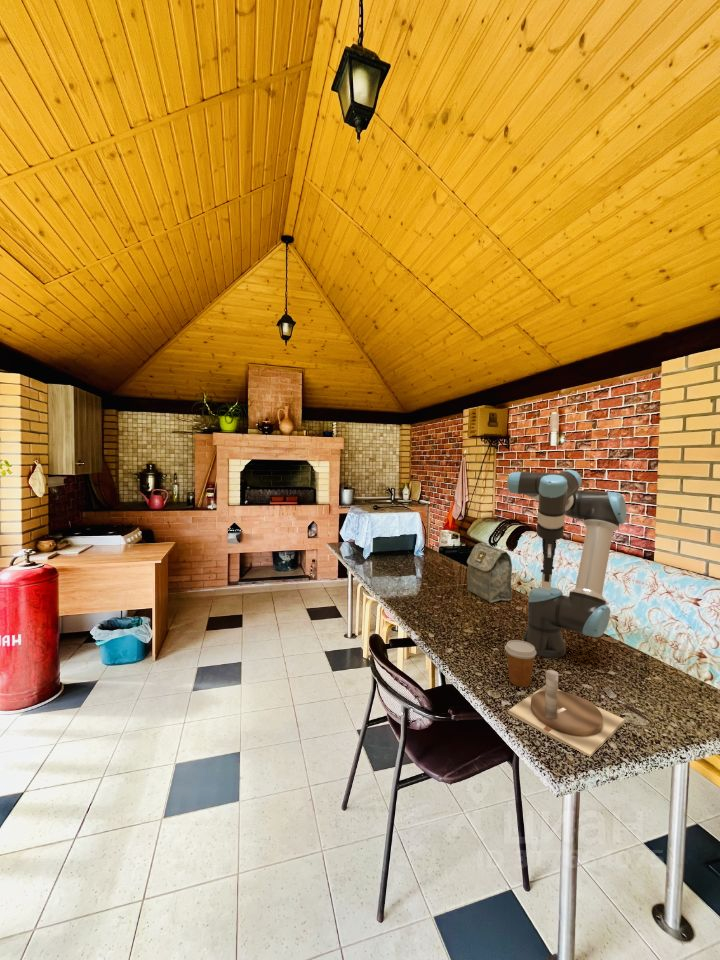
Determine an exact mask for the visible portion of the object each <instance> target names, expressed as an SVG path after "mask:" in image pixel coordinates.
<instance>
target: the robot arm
mask: <svg viewBox="0 0 720 960" xmlns="http://www.w3.org/2000/svg"><path fill="white" fill-rule="evenodd" d="M582 483H583V480H582V477H581V475H580V474H579V473H578V472H577V471H575V470H572V469H565V470H563V471H561V472H528V471H527V472H525V471H524V472H522V471H518V472H517V471H515V472H511V473H509V475H508V476H507V480H506V487H507V490H508V491H509V493H511V494H516V495H525V496H527V497H529V498H530V499H531V498H532V499H534V500H536V501H538V505H537V506H538V508H537V513H535V517H537V525H536V534H537V536H538V537H539V538H541V539H542V540H541V541H542V555H543V557H542V558H543V559H542V564H543V565H542V569H540V573H542V574H541V587H535V588H533V589H531V590H529V592H528V600H527V602H528V603H527V605H528V607H527V608H528V609H527V614H528V615H527V627H526V630H525V632H524V635H523V637H522V641H525V642H528V643H530V644H532V645H533V646H534V647H535V650H536V655H535V656H540V657H542V658H550V659H551V658H554V659H555V658H560V657H563V656H565V655H566V651H567V650H566V649H567V647H566V642H565V639H564V637H563V634H562V629H564V630H568V631H572V632H574V633H578V634H581V635H583V636H589V637H591V638H592V637H593V638H600V637H602V635H603V634H605V632H606V630H607V628H608V626H609V623H610V619H611V609H610V606H608V605H607V604H606V603H607V600H606V599H605V597H604V596H603V590H604V586H605V579H606V574H607V573H606V572H607V568H608V562H609V558H610V550H611V544H612V539H613V534H614V532H616V531H618V530H619V526H620V525H623V524H625V523H626V521H627V505H626V500H625V498H624V496H623V494H622V493H619V492H614V491H609V490H608V491H599V490H580V488H581V487H582ZM565 517H569V518H571V519H576V520H581V521H582V522H583V525H584V526H585V527H586V529H585V535H584V541H583V544H582V545H583V546H582V550H581V551H582V552H581V557H580V562H579V567H578V571H577V577H576V582H575V587H574V588H573V589H571V590H570V591H569V594H568V596H566V595H563V594H564V593H563V591H562V589H559V588H557V587H552V577H553V576H552V575H553V570H555V566H553V564H554V563H553V562H554V557H555V554H556V549H557V541H558V540H560V539H562V538H563V537H564V528H565V527H564V526H565Z"/></svg>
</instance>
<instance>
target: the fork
mask: <svg viewBox="0 0 720 960" xmlns="http://www.w3.org/2000/svg"><path fill="white" fill-rule="evenodd" d="M602 689H603V690H604V691H605V693H606V695H607V696H608V697H609V699H614V698H618V697H617V695H616V693H614V691H613V690H612V688H610V686H606V688H605V687H602ZM617 702H618V703H619V704H620V703H621V704H623V705H624V706H626V708H628V709H629V710H630V711H631V712H633V713H634V714H636V715H637V716H639V717H641V718H642V719H644V720H646V721H647V720H648V722H649V721H650V722H649V723H651V722H652V723H654V722H653V721H652V720H651V719H649V718H648V717H647V716H646V715H644V714H642V712H640V711H639V710H637V709H635V708H634V707H632V706H630V705H628V704H627V703H625V702H623V701H622V700H617ZM652 723H651V724H652Z"/></svg>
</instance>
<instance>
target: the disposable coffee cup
mask: <svg viewBox="0 0 720 960" xmlns="http://www.w3.org/2000/svg"><path fill="white" fill-rule="evenodd" d="M504 650H505V652H506V658H507V668H508V678H509V681H510V683H511V684H513V685H514V686H517V687H520V688H525V687H526V688H527V687H529V686H530V685H531V679H532V674H533V669H534V663H535V657H536V656H537V655H536V650H535V647H534V646H533V645H532V644H530V643H528V642H525V641H523V640H519V639H515V640H514V639H513V640H508V641H507V642H506V644H505V646H504Z"/></svg>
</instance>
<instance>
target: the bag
mask: <svg viewBox="0 0 720 960" xmlns="http://www.w3.org/2000/svg"><path fill="white" fill-rule="evenodd" d="M466 564H467V570H466V572H467V574H466V576H467V578H466V579H467V580H466V582H467V589H466V590H467V591H468V592H471V593H473V594H474V595H476V596H478V597H480V598H481V599H483V600H485V601H487V602H489V603H490V604H493V603H496V602H499V601H511V600H512V597H513V596H512V595H513V594H512V575H513V574H512V573H513V564H512V558H511V556H510V554H509V553H508V551H505V550H502V549H500V548H497V547H495V546H491V545H488V544H486V542H484V541H483V542H479V543H477V544H475V545H474V547H473V548H472V550H471V551H470V555H469V556H468V558H467V560H466Z"/></svg>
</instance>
